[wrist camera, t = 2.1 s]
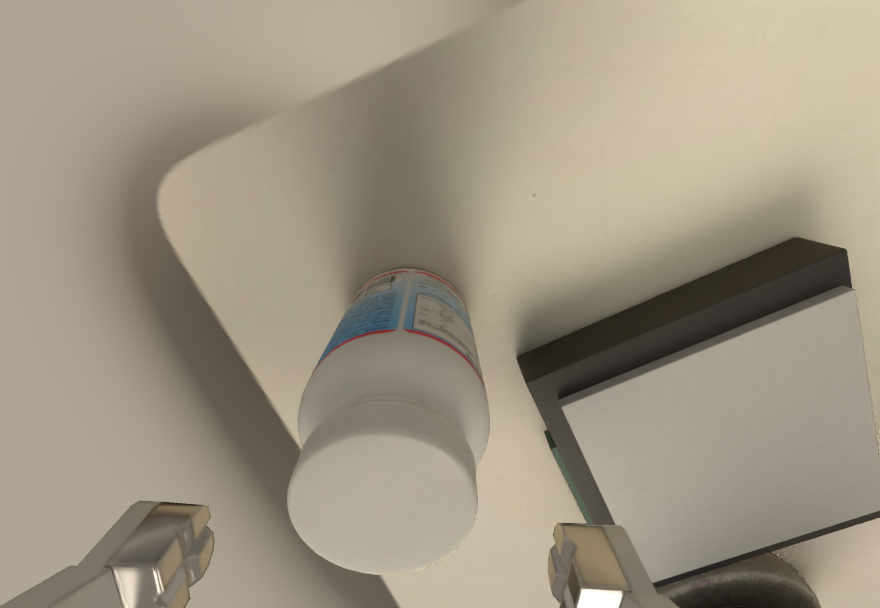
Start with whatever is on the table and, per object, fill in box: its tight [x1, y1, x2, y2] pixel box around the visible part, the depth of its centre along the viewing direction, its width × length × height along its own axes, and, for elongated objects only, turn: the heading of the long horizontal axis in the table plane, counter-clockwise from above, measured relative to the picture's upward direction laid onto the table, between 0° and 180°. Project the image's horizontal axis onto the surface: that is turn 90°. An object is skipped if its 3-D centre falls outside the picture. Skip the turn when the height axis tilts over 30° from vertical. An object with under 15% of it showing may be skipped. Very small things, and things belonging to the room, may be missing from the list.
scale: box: [517, 237, 880, 588], centre depth 21 cm, size 16×14×3 cm
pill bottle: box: [287, 269, 490, 575], centre depth 15 cm, size 6×6×11 cm
